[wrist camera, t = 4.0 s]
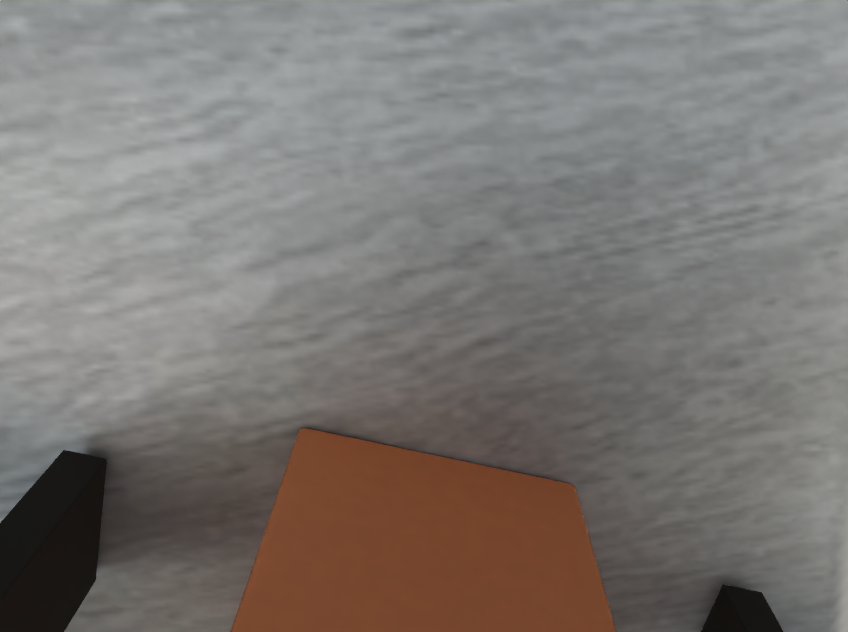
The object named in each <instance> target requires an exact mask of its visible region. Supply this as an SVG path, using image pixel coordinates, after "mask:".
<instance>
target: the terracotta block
mask: <svg viewBox="0 0 848 632" xmlns="http://www.w3.org/2000/svg"><path fill="white" fill-rule="evenodd" d="M231 632H616V628H615V625H614V621H613V618H612V614H611V611H610V607H609V604H608V600H607V597H606V593H605V590H604V586H603V583H602V579H601V576H600V572H599V569H598V566H597V562H596V559H595V555H594V552H593V548H592V545H591V541H590V538H589V534H588V531H587V527H586V524H585V520H584V517H583V513H582V510H581V506H580V503H579V499H578V496H577V492H576V489H575V486H573V485H572V484H569V483H564V482H559V481H555V480H550V479H545V478H540V477H536V476H531V475H526V474H521V473H517V472H512V471H507V470H502V469H497V468H493V467H488V466H483V465H478V464H474V463H469V462H464V461H459V460H455V459H450V458H445V457H440V456H436V455H431V454H426V453H421V452H417V451H412V450H407V449H402V448H398V447H393V446H388V445H383V444H379V443H374V442H369V441H364V440H360V439H355V438H350V437H345V436H341V435H336V434H331V433H326V432H322V431H317V430H312V429H307V428H302V429H301V430H300V431H299V432H298V435H297V438H296V441H295V444H294V447H293V450H292V453H291V456H290V459H289V461H288V464H287V467H286V470H285V473H284V476H283V479H282V482H281V485H280V488H279V491H278V494H277V497H276V500H275V503H274V506H273V508H272V511H271V514H270V517H269V520H268V523H267V526H266V529H265V532H264V535H263V538H262V541H261V544H260V547H259V550H258V553H257V556H256V558H255V561H254V564H253V567H252V570H251V573H250V576H249V579H248V582H247V585H246V588H245V591H244V594H243V597H242V600H241V603H240V605H239V608H238V611H237V614H236V617H235V620H234V623H233V626H232V629H231Z"/></svg>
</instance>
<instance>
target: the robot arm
mask: <svg viewBox="0 0 848 632" xmlns="http://www.w3.org/2000/svg"><path fill="white" fill-rule="evenodd" d="M106 463H107V459H106V458H101V457H96V456H91V455H86V454H81V453H76V452H71V451H66V450H63V451H62V453H61V454H60V455H59V456H58V457H57V458H56V459H55V461H54V462H53V463H52V464H51V465H50V466H49V468H48V469H47V470H46V471H45V472H44V473H43V474H42V476H41V477H40V478H39V479H38V480H37V481H36V483H35V484H34V485H33V486H32V487H31V488H30V489H29V491H28V492H27V493H26V494H25V495H24V496H23V497H22V499H21V500H20V501H19V502H18V503H17V504H16V506H15V507H14V508H13V509H12V510H11V511H10V512H9V514H8V515H7V516H6V517H5V518H4V519H3V520H2V522H1V523H0V632H64V631H65V629H66V628H67V626H68V624H69V623H70V621H71V619H72V618H73V616H74V615H75V613H76V611H77V610H78V608H79V606H80V605H81V603H82V601H83V600H84V598H85V597H86V595H87V593H88V592H89V590H90V588H91V587H92V585H93V583H94V582H95V580H96V571H97V560H98V549H99V539H100V528H101V517H102V506H103V495H104V484H105V474H106ZM701 632H783V630H782V628H781V626H780V625H779V623H778V621H777V619H776V617H775V616H774V614H773V612H772V610H771V608H770V607H769V605H768V603H767V601H766V599H765V598H764V596H763V594H762V592H757V591H752V590H747V589H742V588H737V587H733V586H728V585H723V586H722V588H721V590H720V592H719V594H718V596H717V599H716V601H715V603H714V605H713V607H712V609H711V612H710V614H709V616H708V618H707V620H706V622H705V624H704V627H703V629H702V631H701Z"/></svg>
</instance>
